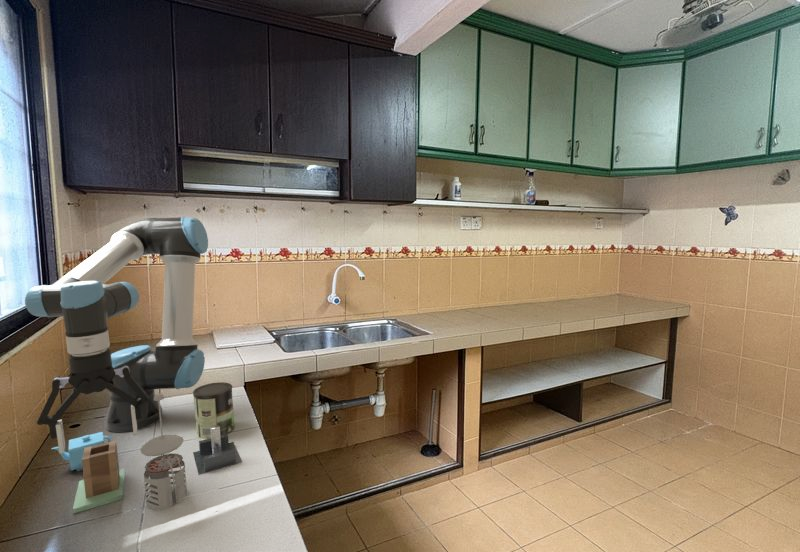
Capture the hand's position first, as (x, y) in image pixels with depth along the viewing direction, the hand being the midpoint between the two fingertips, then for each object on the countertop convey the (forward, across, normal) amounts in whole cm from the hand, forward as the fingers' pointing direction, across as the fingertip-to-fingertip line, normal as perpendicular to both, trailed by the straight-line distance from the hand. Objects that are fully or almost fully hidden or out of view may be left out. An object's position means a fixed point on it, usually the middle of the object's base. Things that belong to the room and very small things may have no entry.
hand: (100, 441), depth 95 cm
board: (+12, 0, -1) cm, 12 cm away
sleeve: (+11, 0, -1) cm, 11 cm away
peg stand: (+12, +24, -3) cm, 27 cm away
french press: (+12, +12, -15) cm, 23 cm away
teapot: (+12, -5, +15) cm, 20 cm away
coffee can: (+13, +26, +13) cm, 31 cm away
